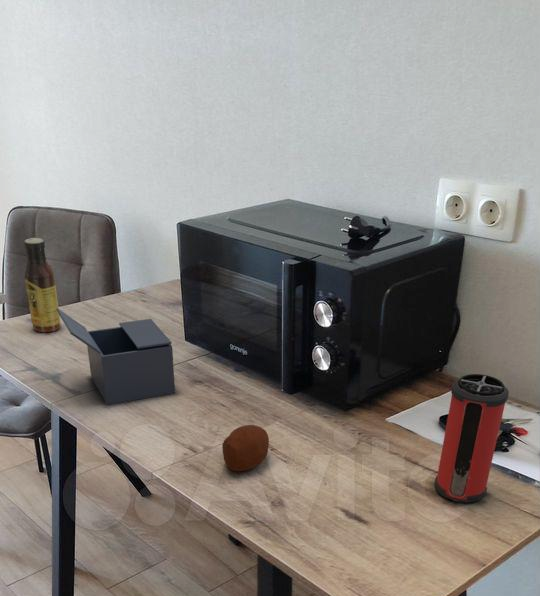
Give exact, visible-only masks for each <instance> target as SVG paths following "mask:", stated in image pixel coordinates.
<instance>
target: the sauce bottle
mask: <svg viewBox="0 0 540 596" xmlns="http://www.w3.org/2000/svg"><path fill="white" fill-rule="evenodd" d="M23 244H24V247H25V248H24V249H25V250H26V257H27V263H26V268H25V273H24V282H25V290H26V295H27V302H28V308H29V313H30V319H31V323H32V328H33V330H35V331H37V332H39V333H51V332H55V331H58V330H60V328H61V317H60V315H59V314H58V312H57V310H56V309H57V308H58V309H60V308H59V301H58V294H57V285H56V283H55V275H54V270H53V269H52V266H51V265H50V264H49V263H48V261H47V256H46V251H45V247H46V243H45V240H44V239H43V238H40V237H30V238H26V239H25V240H24V243H23Z"/></svg>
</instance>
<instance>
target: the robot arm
mask: <svg viewBox="0 0 540 596" xmlns="http://www.w3.org/2000/svg"><path fill="white" fill-rule="evenodd" d="M8 301H9V300H8V295H7V294H6V293H4V292H0V305H2V304H6V303H8Z"/></svg>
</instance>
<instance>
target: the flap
mask: <svg viewBox="0 0 540 596" xmlns="http://www.w3.org/2000/svg"><path fill="white" fill-rule="evenodd" d="M56 310H57V312H58V314H59V315H60V320H61V321H62V322H63V324H64V326H65V327H66V329H67V330H68V332H69V334H70V335H71V336H73V337H74V338H76V339H77V340H78V341H80V342H82V343H83V344H84V345H86V346H87V345H88V346H89V347H90V348H92V349H93V350H95V351H96V352H98V353H99V354H100V353H101V351H100V350H99V348H98V346H97V345H96V343H95V342H94V340H93V339H92V337H91V336H90V334H89V333H88V331H89V330H87V328H86V327H85V326H84V325H83V324H81V323H80V322H79V321H77V320H76V319H74V318H72V317H71V316H70V315H68V314H67V313H66V312H64V311H63V310H61V309H60V308H59V309H58V308H57V309H56Z"/></svg>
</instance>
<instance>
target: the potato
mask: <svg viewBox="0 0 540 596" xmlns="http://www.w3.org/2000/svg"><path fill="white" fill-rule="evenodd" d="M269 446H270V438H269V434H268V433H267V430H266V429H265V428H263V427H261V426H258V425H254V424H245V425H242V426H239V427H237V428H235V429H233V430H232V431H231V432H230V434H229V435H228V436H227V437H225V438H224V440H223V442H222V446H221V448H222V457H223V461H224V464H225V465H226V467H227V468H228V469H229V470H232V471H233V472H245V471H248V470H250V469H251V470H252V469H253V468H255V467H257V466H259V465H261V464H263V462H264V461H265V460H266V459H267V456H268V453H269Z"/></svg>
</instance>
